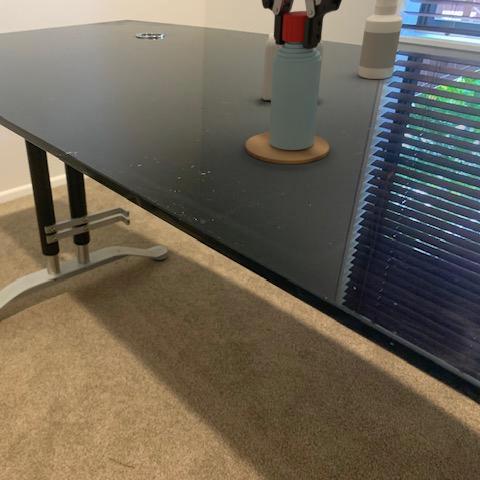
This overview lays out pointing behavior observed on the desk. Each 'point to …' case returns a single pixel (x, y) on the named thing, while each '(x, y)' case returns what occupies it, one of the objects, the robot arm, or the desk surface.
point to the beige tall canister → (380, 41)
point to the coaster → (285, 151)
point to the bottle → (294, 96)
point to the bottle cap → (294, 26)
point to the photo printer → (269, 55)
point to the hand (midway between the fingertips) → (296, 45)
